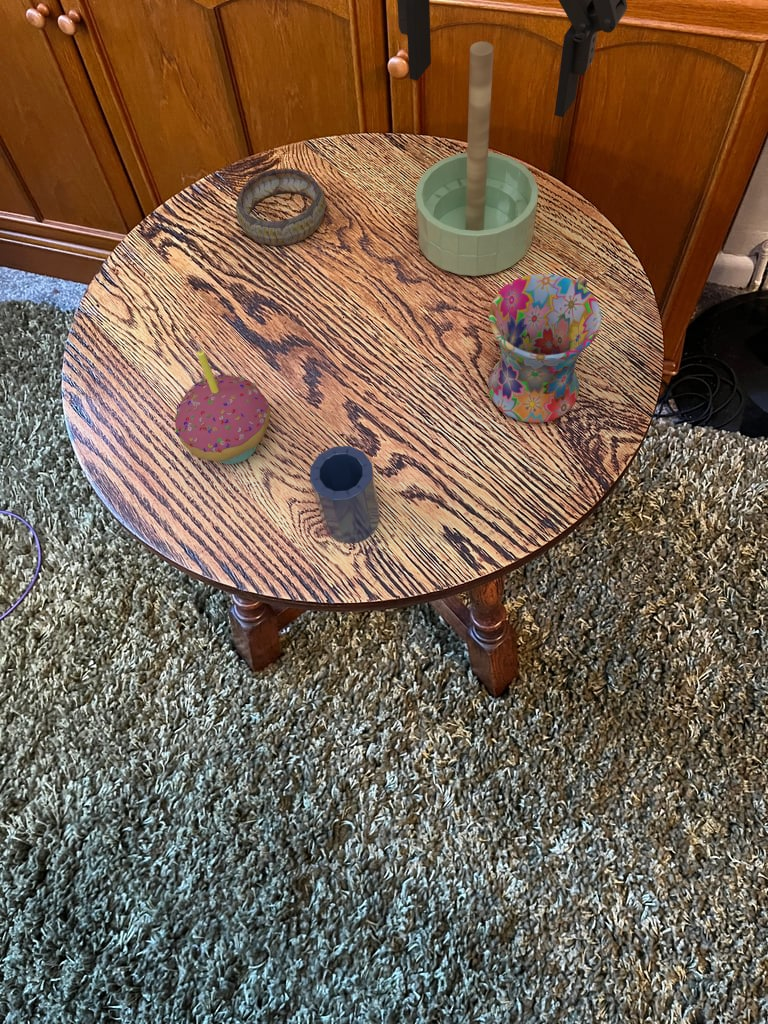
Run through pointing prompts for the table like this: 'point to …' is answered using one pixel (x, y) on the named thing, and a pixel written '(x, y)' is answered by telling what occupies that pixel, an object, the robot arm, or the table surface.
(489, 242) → the bowl
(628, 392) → the table surface
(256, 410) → the cupcake
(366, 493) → the holder
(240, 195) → the decorative ring
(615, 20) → the robot arm
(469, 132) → the stick
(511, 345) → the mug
